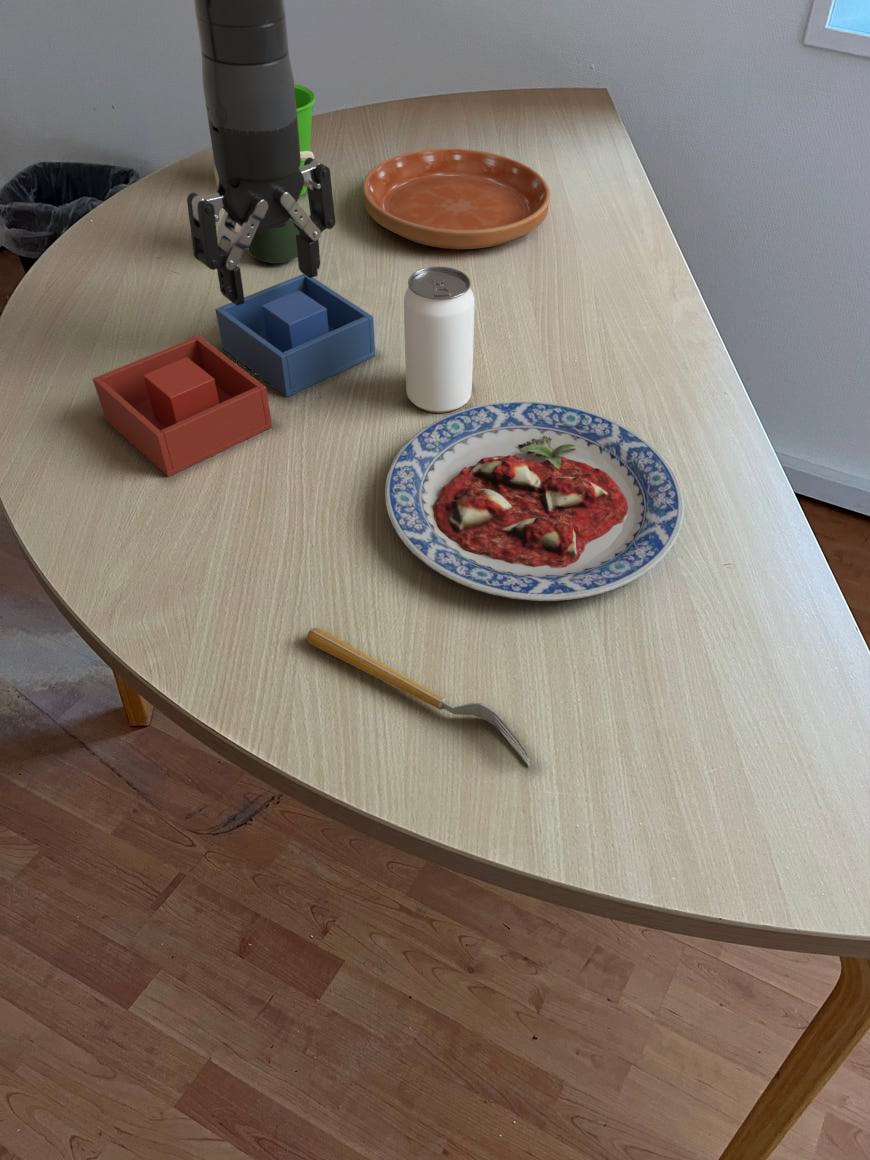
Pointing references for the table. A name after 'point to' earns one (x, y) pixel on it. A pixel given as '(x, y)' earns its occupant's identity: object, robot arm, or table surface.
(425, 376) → the can
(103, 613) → the table surface
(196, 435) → the red bin
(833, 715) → the table surface
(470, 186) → the saucer
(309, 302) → the blue block
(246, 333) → the blue bin
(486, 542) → the ceramic plate
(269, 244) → the character mug
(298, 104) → the cup
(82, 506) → the table surface
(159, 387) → the red block
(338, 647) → the fork
